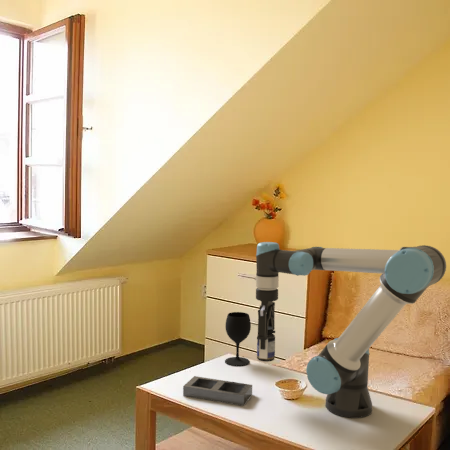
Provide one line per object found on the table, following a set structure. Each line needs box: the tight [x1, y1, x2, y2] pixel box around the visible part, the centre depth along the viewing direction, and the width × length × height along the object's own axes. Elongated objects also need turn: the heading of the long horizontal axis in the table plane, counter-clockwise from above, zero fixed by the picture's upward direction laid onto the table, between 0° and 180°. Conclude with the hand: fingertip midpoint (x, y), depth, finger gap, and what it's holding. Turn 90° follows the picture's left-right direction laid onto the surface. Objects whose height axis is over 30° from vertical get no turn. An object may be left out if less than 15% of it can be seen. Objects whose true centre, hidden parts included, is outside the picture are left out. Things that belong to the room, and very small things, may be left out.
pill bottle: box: [256, 326, 276, 363], centre depth 178 cm, size 6×6×11 cm
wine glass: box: [224, 311, 252, 367], centre depth 216 cm, size 10×10×20 cm
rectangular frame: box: [182, 375, 253, 407], centre depth 183 cm, size 22×10×4 cm, turn 71°
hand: (265, 354), depth 178 cm, fingers closed on pill bottle, 6 cm apart
